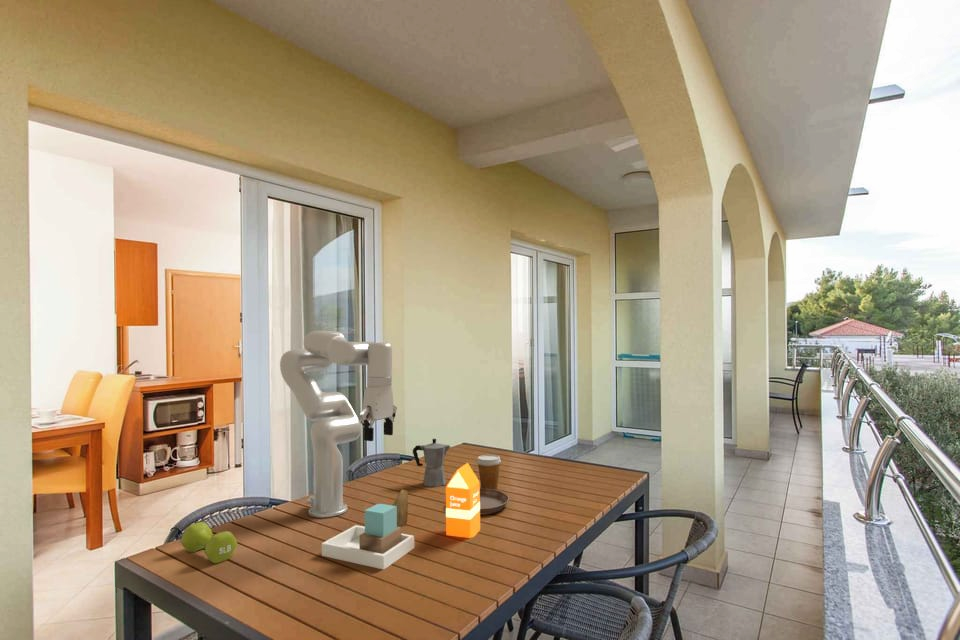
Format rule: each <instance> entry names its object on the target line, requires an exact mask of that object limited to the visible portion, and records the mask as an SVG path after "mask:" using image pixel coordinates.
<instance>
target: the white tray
mask: <svg viewBox="0 0 960 640" xmlns="http://www.w3.org/2000/svg"><path fill="white" fill-rule="evenodd" d="M364 532H365V526H362V525H359V524H358V525H357V524H355V525H353V526H352V527H350V528H348V529H346V530H344V531H342V532H340V533H339V534H337V535H335V536H333V537H331V538H328V539H327V540H325V541H324V542H321V556H322V557H326V558H330V559H335V560H339V561H344V562H348V563H353V564H356V565H357V564H358V565H361V566H366V567H371V568H375V569H379V570H383V571H384V570H385V569H387V568H388V567H389V566H392V565H393V564H394V563H395V562H397V561H398V560H399V559H401V558H402V557H403V556H405V555H406V554H408V553H409V552H410V551H412V550H414V549H415V535H412V534H406V533H402V532H401V542H400V543H399V544H397V545H396V546H394V547H393V548H391V549H390V550H388V551H387V552H385V553H384V554H380V553H376V552H371V551H366V550H361V549H360V535H361V534H363V533H364Z"/></svg>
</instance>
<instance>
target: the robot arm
mask: <svg viewBox="0 0 960 640" xmlns="http://www.w3.org/2000/svg"><path fill="white" fill-rule="evenodd" d="M303 346H304V348H296V349H291V350H288V351H285V352H284V353H283V354H282V356H281V358H280V361H279V367H280V374H281V376H282V378H283V381H284V382H285V384H286V385H287V386H288V388H289V389H290V391H291V392H292V393H293V394H294V397H295V399H296V401H297V402H298V405H299V406H300V408H301V410H302V413H303V415H304V416H305V417H306V419H308V420H309V421H313V424H312V425H311V427H310V439H311V444H312V445H311V446H312V456H313V495H309V496H308V498H307V499H306V501H305V502H306V504H310V508H308V515H309V516H311V517H314V518H332V517H335V516H340V515H342V514H344V513H346V512H347V510H348V504H346V503H345V502H344V501H343V497H344V495H343V494H344V493H343V491H344V489H343V488H344V487H343V485H344V482H343V481H344V480H343V479H344V477H343V475H344V474H343V472H344V471H343V470H344V469H343V468H344V467H343V466H344V465H343V464H344V463H343V461H344V459H343V455H342V453H341V451H340V449H339V447H338V445H340V444H344V443H345V444H346V443H350V442H353V441H356V440H358V438H359V437H361V433H362V428H363V441H367V442H373V441H374V436H375V435H374V430H375V429H374V427H373V426H374V424H375V422H376V421H381V420H384V422H383V435H385V436H393V434H394V422H395V418H396V413H397V409H398V407H397V406H396V405H394V395H393V393H394V392H393V387H392V384H393V381H392V380H393V377H392V375H393V373H392V372H393V369H392V368H393V346H392V344H391V343H389V342H375V341H348V340H347V339H346V337H345V336H344V334H343V333H341V332H340V331H337V330H314V331H310V332H308V333H307V334H306V335H305V337H304V339H303ZM333 364H336V365H340V366H347V367H351V366H352V367H353V366H367V367H366V368H367V371H366V373H367V375H366V387H365V389H364V394H363V402H362V411H361V412H360V413H359V415H358V416H359V417H358V416H357V414H356V412H355V410H354V409H353V406H352V405H351V403H350V402H349V399H348V398H347V397H346V395H345V394H343V393H342V392H340V391H330V392H329V391H328V392H324V391H322V390H321V389H320V387H319V384H318V383H317V382H316V380H315V379H314V378H312V376H310V375H308V374H306V373H312V372H323V371H325V370H327V369H328V368H330V367H331V366H332V365H333Z"/></svg>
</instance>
